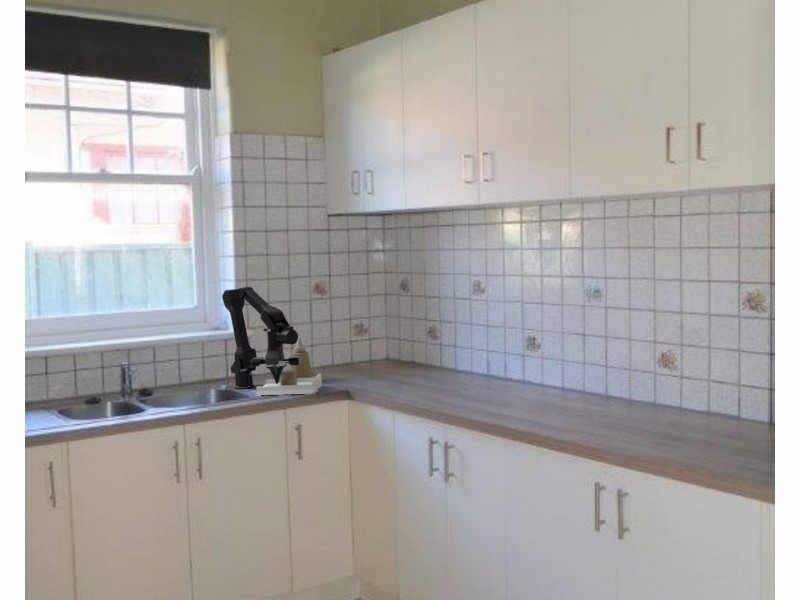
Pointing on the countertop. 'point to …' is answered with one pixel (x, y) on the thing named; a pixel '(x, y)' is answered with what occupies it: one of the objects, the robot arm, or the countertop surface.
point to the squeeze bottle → (304, 367)
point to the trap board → (291, 386)
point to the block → (289, 378)
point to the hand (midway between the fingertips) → (277, 383)
